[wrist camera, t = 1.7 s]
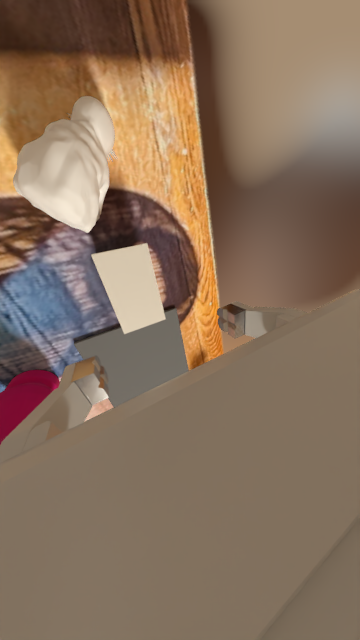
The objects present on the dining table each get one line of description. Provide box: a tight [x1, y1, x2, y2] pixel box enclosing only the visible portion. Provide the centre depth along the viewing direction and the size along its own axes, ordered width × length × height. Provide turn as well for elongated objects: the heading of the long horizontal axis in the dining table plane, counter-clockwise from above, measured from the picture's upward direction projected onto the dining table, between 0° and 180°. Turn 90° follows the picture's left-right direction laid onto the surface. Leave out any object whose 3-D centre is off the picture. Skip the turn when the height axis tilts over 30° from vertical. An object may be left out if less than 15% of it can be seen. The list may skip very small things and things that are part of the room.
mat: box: [74, 308, 189, 407], centre depth 32 cm, size 18×18×1 cm
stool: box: [91, 243, 166, 334], centre depth 22 cm, size 10×6×7 cm, turn 10°
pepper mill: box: [0, 370, 60, 445], centre depth 17 cm, size 7×7×20 cm
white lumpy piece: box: [13, 96, 117, 233], centre depth 15 cm, size 6×8×12 cm
